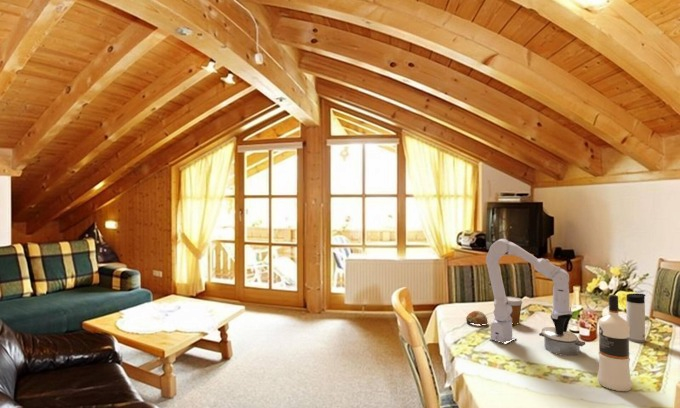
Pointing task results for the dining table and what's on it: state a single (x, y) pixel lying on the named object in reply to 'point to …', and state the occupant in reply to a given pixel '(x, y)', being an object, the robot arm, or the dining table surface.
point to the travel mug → (636, 316)
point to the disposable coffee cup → (515, 308)
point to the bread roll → (476, 318)
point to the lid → (559, 335)
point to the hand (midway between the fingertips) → (561, 332)
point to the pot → (562, 346)
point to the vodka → (614, 350)
